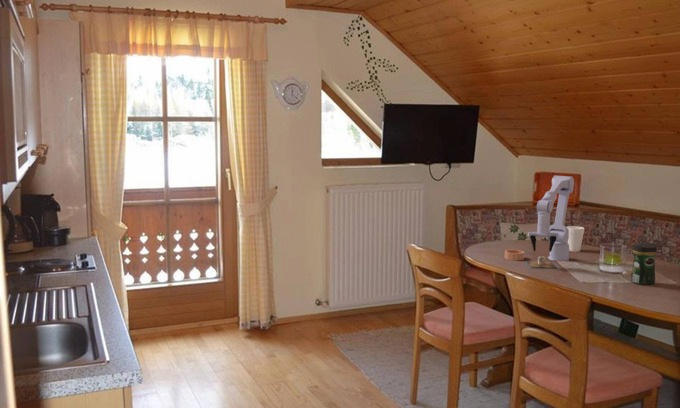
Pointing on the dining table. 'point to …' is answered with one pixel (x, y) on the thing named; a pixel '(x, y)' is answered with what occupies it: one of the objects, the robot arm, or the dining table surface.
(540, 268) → the mat
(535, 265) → the square tan board
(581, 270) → the dining table surface
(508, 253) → the bowl
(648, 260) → the coffee jar
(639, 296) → the dining table surface
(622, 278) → the dining table surface
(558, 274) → the dining table surface
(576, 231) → the foam cup
